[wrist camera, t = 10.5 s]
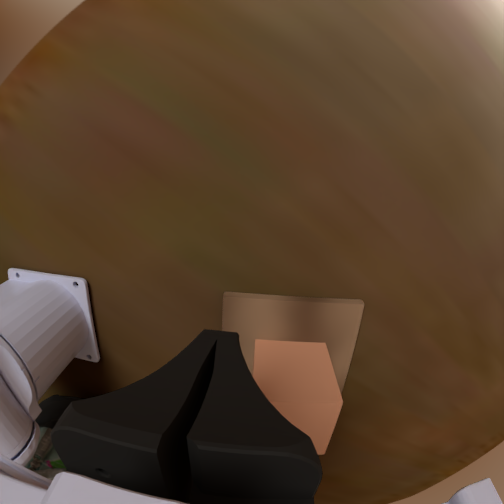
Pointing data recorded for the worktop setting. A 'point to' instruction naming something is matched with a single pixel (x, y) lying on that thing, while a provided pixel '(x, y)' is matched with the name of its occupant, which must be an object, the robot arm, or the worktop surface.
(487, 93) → the worktop surface
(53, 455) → the backpack
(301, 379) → the pink rectangular block
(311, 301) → the board
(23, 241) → the worktop surface
